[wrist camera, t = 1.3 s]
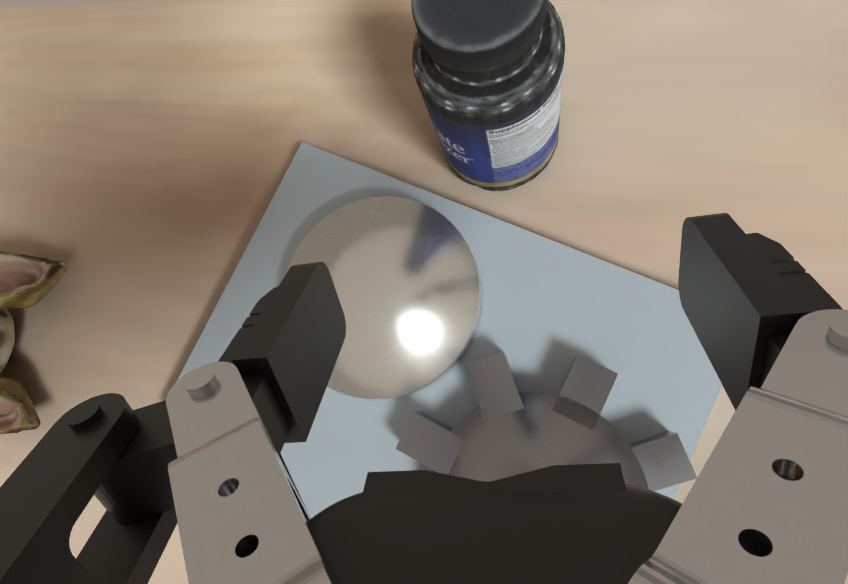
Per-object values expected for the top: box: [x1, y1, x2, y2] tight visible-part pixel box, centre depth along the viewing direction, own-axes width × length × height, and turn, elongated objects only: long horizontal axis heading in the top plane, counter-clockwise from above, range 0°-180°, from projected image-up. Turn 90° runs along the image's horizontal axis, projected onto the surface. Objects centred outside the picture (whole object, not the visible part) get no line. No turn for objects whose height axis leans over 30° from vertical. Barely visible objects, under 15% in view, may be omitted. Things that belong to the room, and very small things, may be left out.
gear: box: [395, 351, 697, 491], centre depth 22 cm, size 13×13×3 cm
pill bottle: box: [412, 0, 565, 191], centre depth 23 cm, size 6×6×11 cm
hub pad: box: [286, 196, 482, 399], centre depth 26 cm, size 10×10×1 cm
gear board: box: [176, 142, 722, 518], centre depth 26 cm, size 24×17×2 cm
